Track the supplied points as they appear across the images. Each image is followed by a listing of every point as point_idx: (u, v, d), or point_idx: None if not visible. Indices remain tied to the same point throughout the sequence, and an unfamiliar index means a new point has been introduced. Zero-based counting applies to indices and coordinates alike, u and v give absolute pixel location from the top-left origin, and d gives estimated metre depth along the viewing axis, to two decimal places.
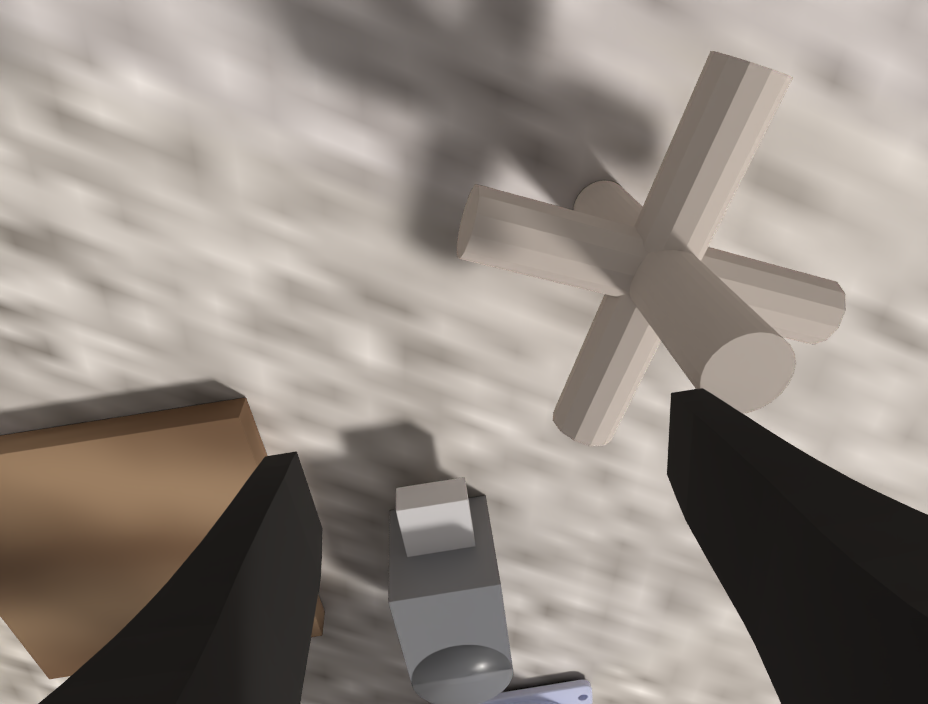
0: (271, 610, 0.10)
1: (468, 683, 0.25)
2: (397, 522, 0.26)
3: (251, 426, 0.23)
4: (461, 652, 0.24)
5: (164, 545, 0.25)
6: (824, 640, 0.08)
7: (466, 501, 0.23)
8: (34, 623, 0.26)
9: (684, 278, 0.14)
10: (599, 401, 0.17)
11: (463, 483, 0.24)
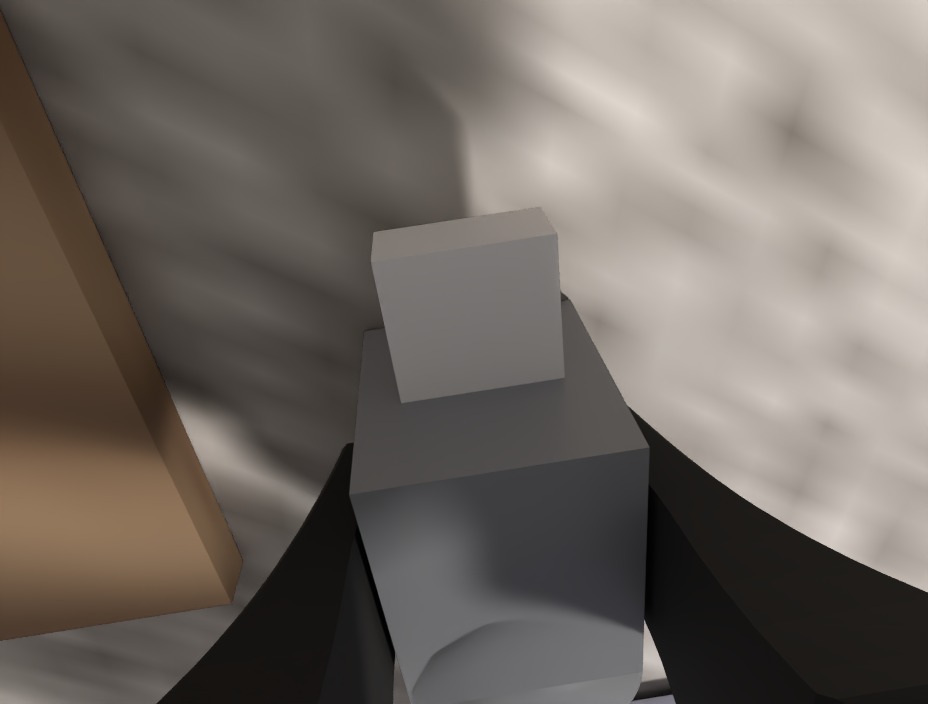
0: (371, 594, 0.10)
1: None
2: (380, 347, 0.12)
3: None
4: (531, 633, 0.10)
5: None
6: (704, 660, 0.08)
7: (553, 239, 0.09)
8: None
9: None
10: None
11: (539, 214, 0.10)
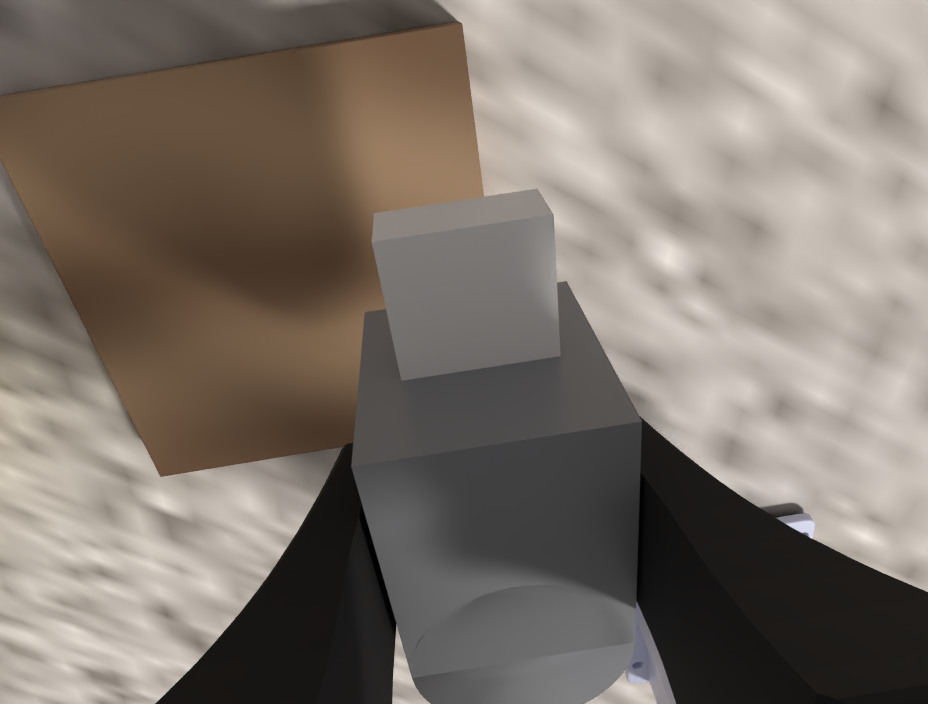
0: (371, 594, 0.10)
1: (535, 672, 0.12)
2: (380, 327, 0.12)
3: None
4: (527, 603, 0.11)
5: (332, 255, 0.18)
6: (705, 660, 0.08)
7: (549, 219, 0.09)
8: (149, 383, 0.20)
9: None
10: None
11: (536, 195, 0.10)
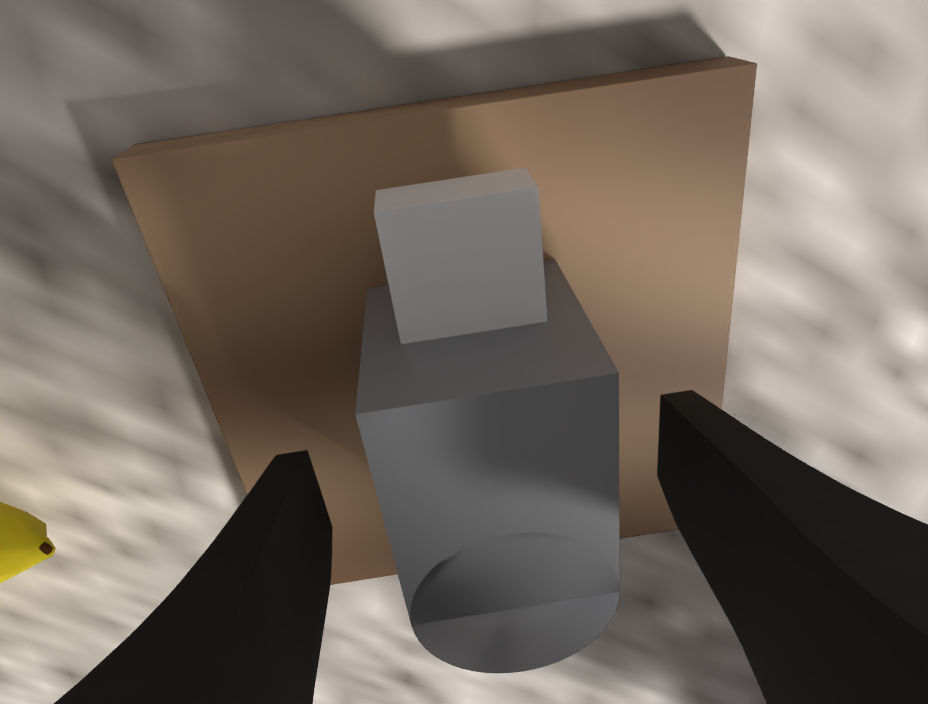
0: (285, 608, 0.10)
1: (526, 621, 0.12)
2: (381, 300, 0.13)
3: None
4: (518, 550, 0.11)
5: None
6: (808, 643, 0.08)
7: (535, 192, 0.10)
8: None
9: None
10: None
11: (524, 172, 0.11)
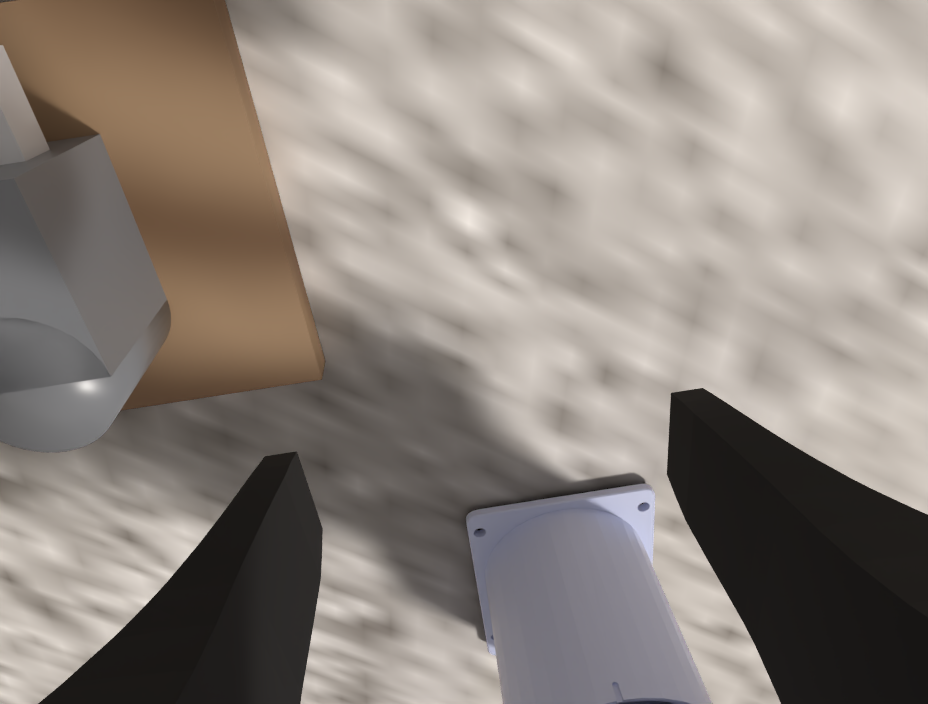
0: (271, 610, 0.10)
1: (45, 402, 0.16)
2: None
3: (225, 15, 0.17)
4: (7, 334, 0.15)
5: None
6: (824, 640, 0.08)
7: None
8: None
9: None
10: None
11: None
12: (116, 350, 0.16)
